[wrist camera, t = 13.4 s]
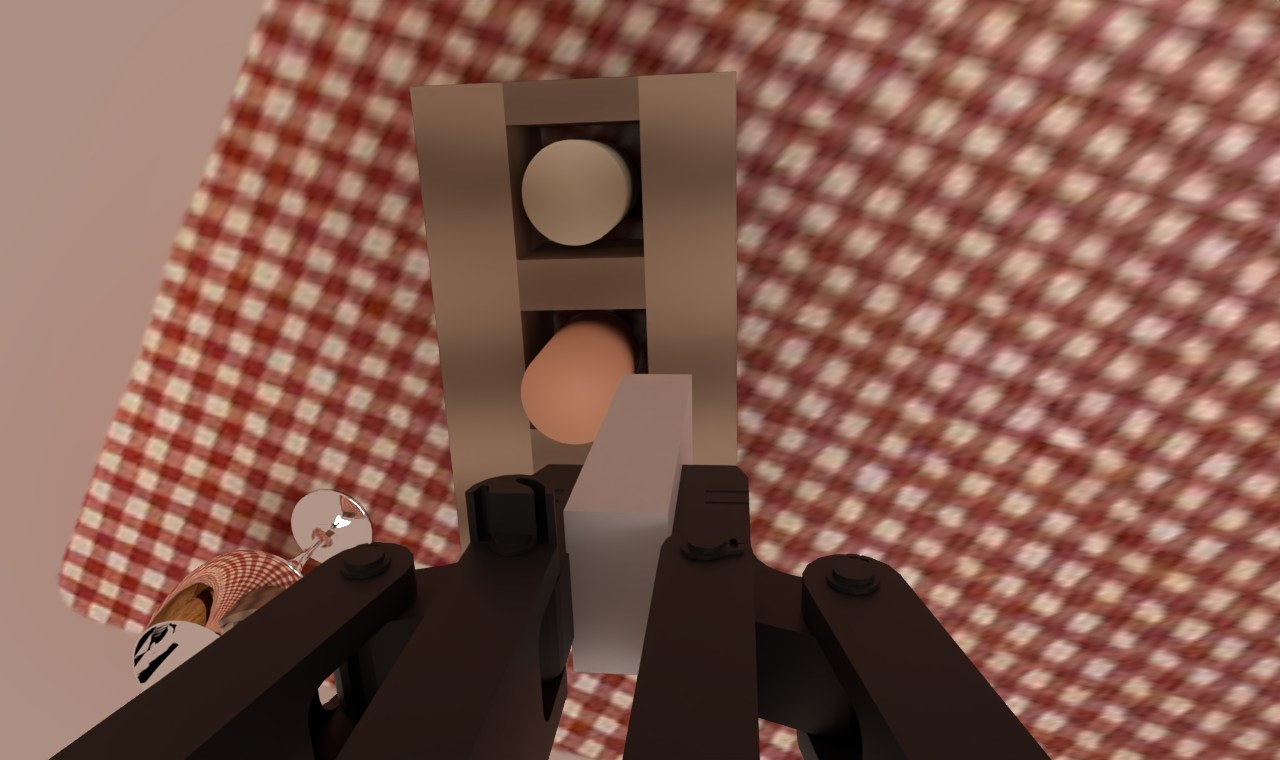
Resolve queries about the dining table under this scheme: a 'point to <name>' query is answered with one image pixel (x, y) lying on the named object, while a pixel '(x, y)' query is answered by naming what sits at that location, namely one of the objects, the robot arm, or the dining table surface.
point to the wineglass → (243, 584)
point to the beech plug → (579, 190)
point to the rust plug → (579, 376)
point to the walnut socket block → (576, 255)
